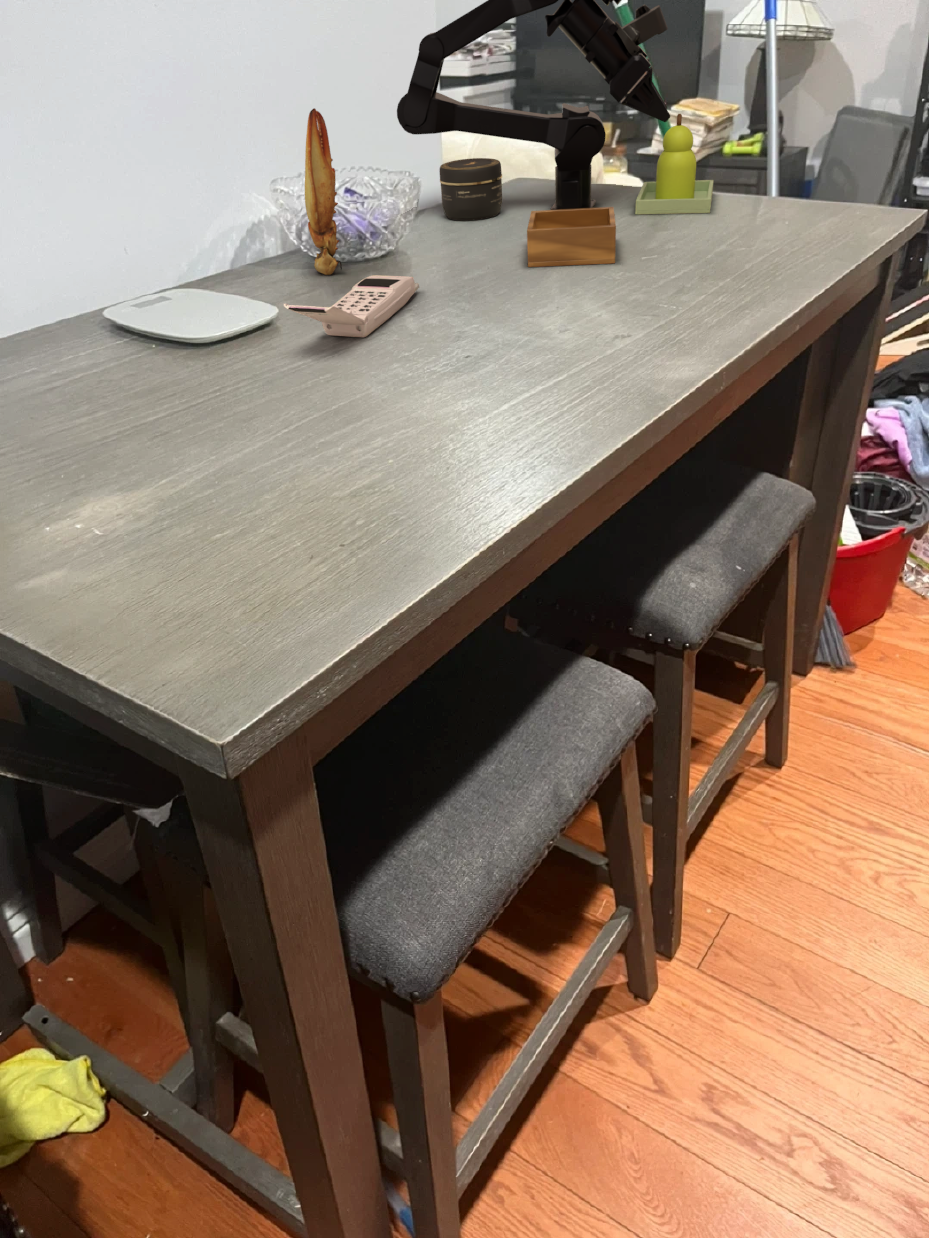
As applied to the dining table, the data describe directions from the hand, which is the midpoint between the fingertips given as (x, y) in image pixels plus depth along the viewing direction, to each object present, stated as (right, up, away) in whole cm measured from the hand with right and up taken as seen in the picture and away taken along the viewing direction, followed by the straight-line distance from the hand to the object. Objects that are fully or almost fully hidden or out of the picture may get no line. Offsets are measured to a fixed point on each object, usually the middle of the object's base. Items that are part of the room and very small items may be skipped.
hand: (666, 115), depth 137 cm
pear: (+3, -10, +7) cm, 12 cm away
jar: (-29, -10, +11) cm, 33 cm away
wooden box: (-16, -27, -13) cm, 34 cm away
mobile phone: (-42, -42, -32) cm, 68 cm away
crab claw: (-49, -30, -14) cm, 59 cm away
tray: (+3, -10, +7) cm, 13 cm away
